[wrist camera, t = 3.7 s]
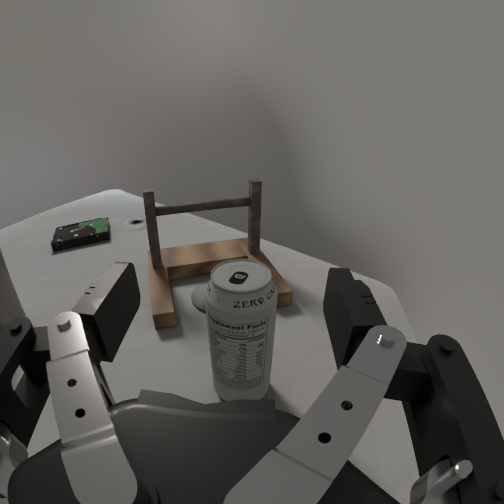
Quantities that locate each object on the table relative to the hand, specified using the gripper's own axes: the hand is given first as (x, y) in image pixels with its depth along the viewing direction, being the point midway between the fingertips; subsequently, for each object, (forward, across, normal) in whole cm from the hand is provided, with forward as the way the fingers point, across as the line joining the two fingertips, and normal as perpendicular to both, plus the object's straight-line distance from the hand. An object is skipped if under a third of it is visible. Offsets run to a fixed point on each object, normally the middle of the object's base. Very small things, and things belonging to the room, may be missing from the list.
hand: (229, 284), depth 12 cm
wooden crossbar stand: (+31, -6, -21) cm, 38 cm away
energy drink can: (+10, 0, -21) cm, 23 cm away
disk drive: (+48, -41, -21) cm, 66 cm away
